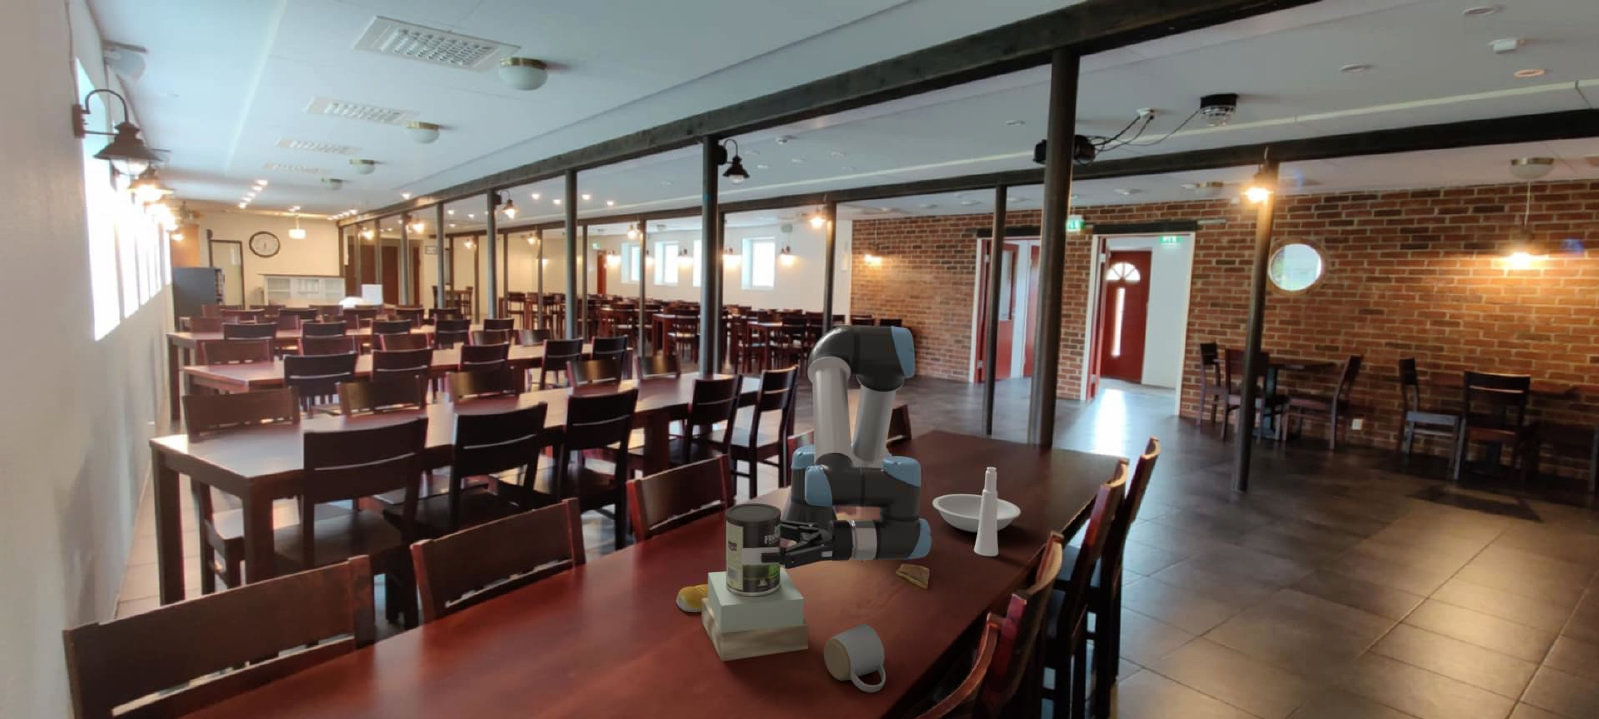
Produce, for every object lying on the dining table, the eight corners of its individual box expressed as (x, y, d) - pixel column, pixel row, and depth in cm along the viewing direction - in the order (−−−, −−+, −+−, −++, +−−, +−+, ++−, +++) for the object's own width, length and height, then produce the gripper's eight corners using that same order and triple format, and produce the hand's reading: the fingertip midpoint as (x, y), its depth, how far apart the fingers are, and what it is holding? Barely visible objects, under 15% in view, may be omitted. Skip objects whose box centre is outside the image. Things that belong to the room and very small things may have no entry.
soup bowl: (1029, 526, 207) (1030, 504, 207) (1004, 550, 187) (1006, 525, 186) (949, 510, 220) (950, 489, 219) (918, 531, 200) (919, 507, 199)
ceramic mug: (819, 671, 124) (821, 628, 123) (855, 657, 129) (857, 616, 128) (860, 701, 115) (863, 655, 115) (897, 686, 120) (900, 642, 120)
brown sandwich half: (927, 592, 160) (927, 584, 160) (892, 587, 161) (892, 579, 161) (930, 574, 170) (930, 566, 170) (897, 569, 172) (898, 562, 172)
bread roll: (728, 607, 148) (728, 588, 147) (687, 617, 143) (688, 597, 142) (710, 592, 154) (710, 574, 154) (670, 601, 150) (671, 582, 149)
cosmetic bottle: (972, 554, 183) (977, 469, 181) (975, 546, 189) (981, 464, 187) (996, 558, 181) (1002, 472, 179) (999, 550, 186) (1005, 466, 184)
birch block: (701, 623, 141) (702, 598, 140) (779, 613, 146) (779, 589, 146) (722, 663, 126) (722, 636, 125) (807, 651, 132) (808, 624, 131)
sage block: (707, 597, 141) (708, 572, 140) (781, 591, 145) (782, 567, 145) (720, 633, 127) (721, 605, 126) (802, 625, 131) (803, 598, 130)
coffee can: (789, 578, 138) (789, 506, 136) (766, 601, 129) (767, 524, 127) (740, 569, 142) (740, 499, 140) (715, 590, 132) (715, 516, 131)
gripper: (866, 585, 126) (744, 590, 122) (833, 537, 150) (731, 539, 146) (868, 543, 125) (746, 547, 121) (835, 501, 150) (732, 503, 146)
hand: (737, 543), depth 134 cm, fingers open, 13 cm apart
